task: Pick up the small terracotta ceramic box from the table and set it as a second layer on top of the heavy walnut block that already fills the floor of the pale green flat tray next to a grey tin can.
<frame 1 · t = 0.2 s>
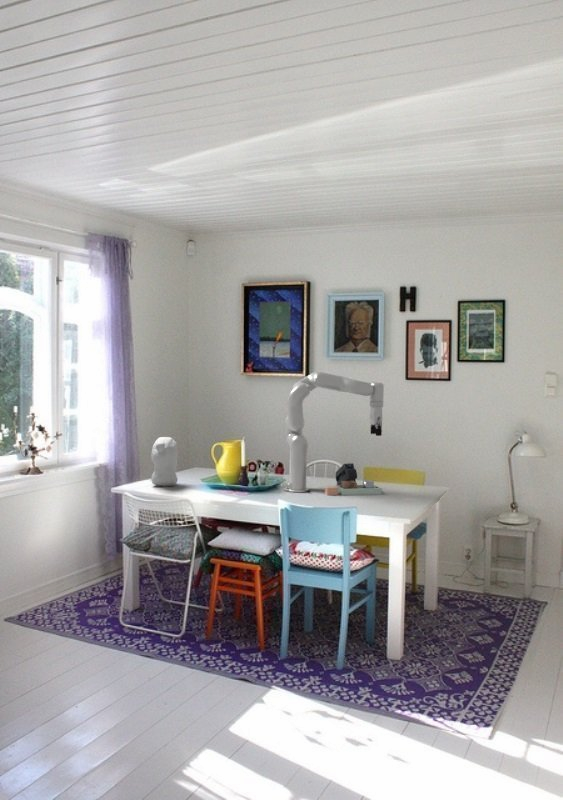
hand: (375, 434, 420), 31 cm above the table, fingers open, 9 cm apart
pale green flat tray: (358, 494, 406), on the table
walnut block: (348, 492, 405), point 1 cm above the table, touching pale green flat tray
terracotta box: (331, 496, 400), on the table
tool: (345, 488, 424), on the table
bust: (164, 487, 421), on the table
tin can: (368, 492, 407), point 1 cm above the table, touching pale green flat tray
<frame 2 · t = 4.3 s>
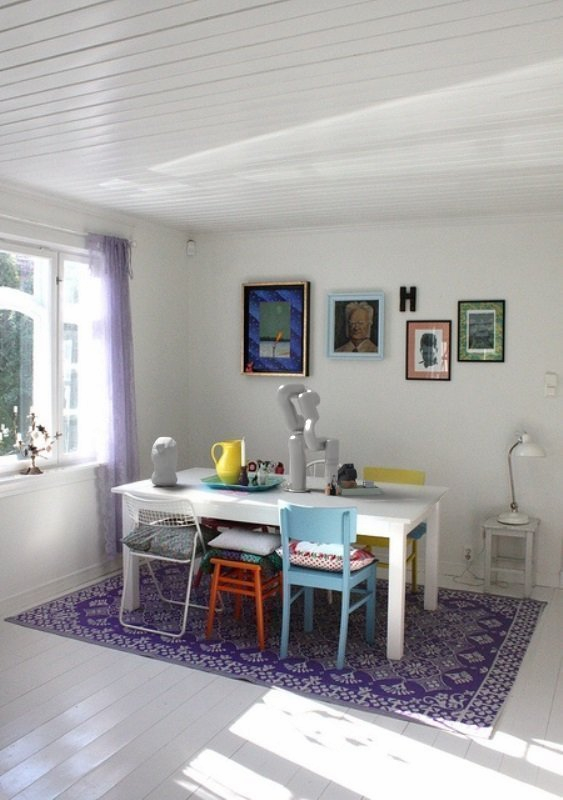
hand: (331, 494, 400), 0 cm above the table, fingers closed on terracotta box, 4 cm apart
terracotta box: (331, 495, 400), on the table, touching gripper
everything else where it was.
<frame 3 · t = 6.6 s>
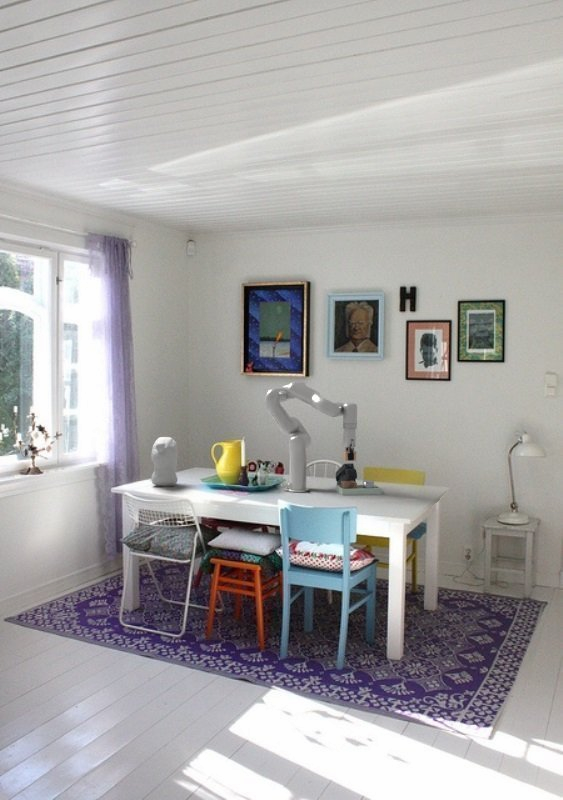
hand: (349, 459, 404), 19 cm above the table, fingers closed on terracotta box, 4 cm apart
terracotta box: (349, 460, 404), point 19 cm above the table, touching gripper
everything else where it was.
when the fingers open (9 cm above the table, at t = 8.8 s): terracotta box drops 1 cm, resting on walnut block.
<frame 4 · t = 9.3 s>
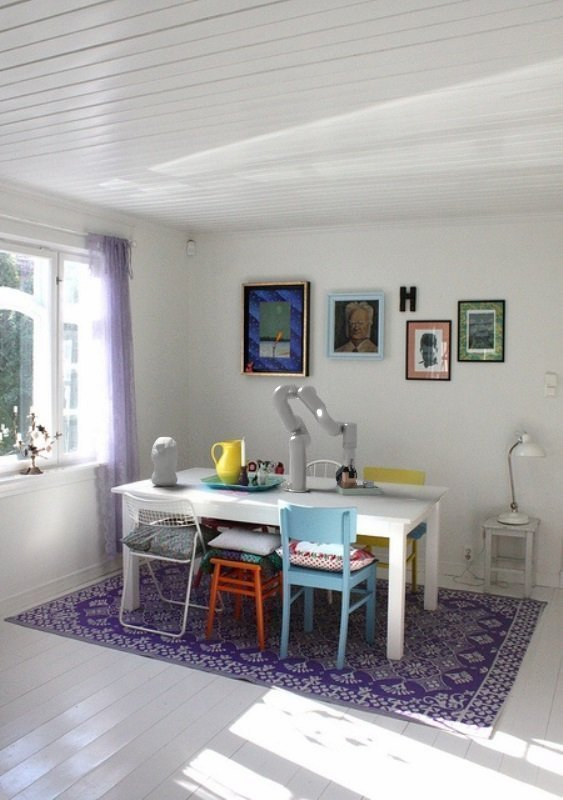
hand: (349, 476, 404), 10 cm above the table, fingers open, 9 cm apart
walnut block: (348, 492, 405), point 1 cm above the table, touching pale green flat tray, terracotta box
terracotta box: (348, 481, 404), point 7 cm above the table, touching walnut block
everything else where it was.
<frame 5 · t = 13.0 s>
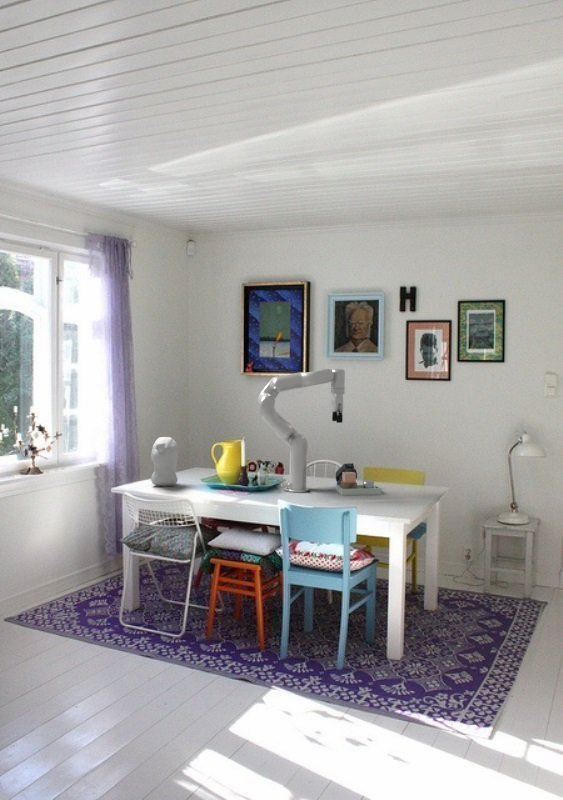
hand: (337, 421, 416), 38 cm above the table, fingers open, 9 cm apart
nothing on the table moved.
at the end: terracotta box 0.0 cm off-centre on the walnut block, point 6.0 cm above the walnut block's base; terracotta box tilted 0°; the gripper is holding nothing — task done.
